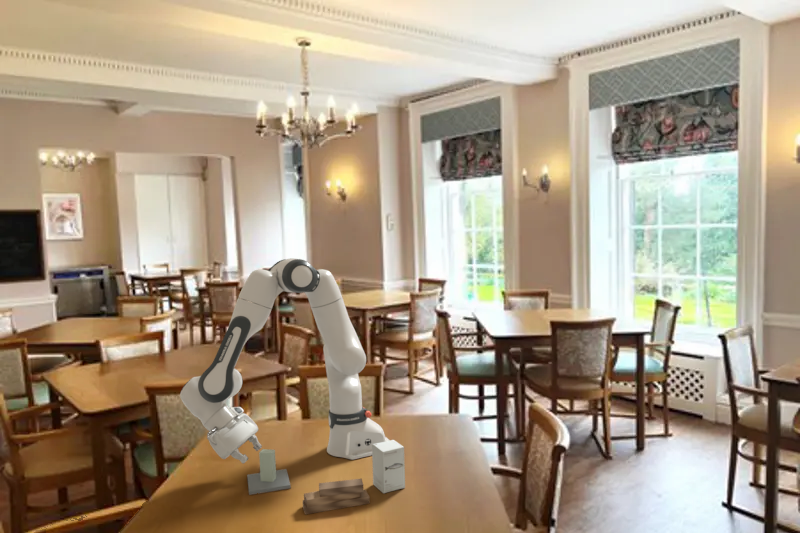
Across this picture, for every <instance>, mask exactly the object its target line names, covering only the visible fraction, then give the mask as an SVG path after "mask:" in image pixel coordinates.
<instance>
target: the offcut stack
mask: <svg viewBox="0 0 800 533" xmlns="http://www.w3.org/2000/svg"><path fill="white" fill-rule="evenodd" d="M370 503H371V502H370V495H369V493H368V492H367V490H366V489H364V482H363V479H362V478H355V479H354V478H353V479H345V480H338V481H337V480H336V481H327V482H319V483H318V490H315V491H309V492H306V493H303V499H302V508H303V512H304V515H310V514H311V515H312V514H317V513H320V512H321V513H322V512H327V511H331V510H339V509H346V508H350V507H356V506H363V505H368V504H370Z"/></svg>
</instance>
